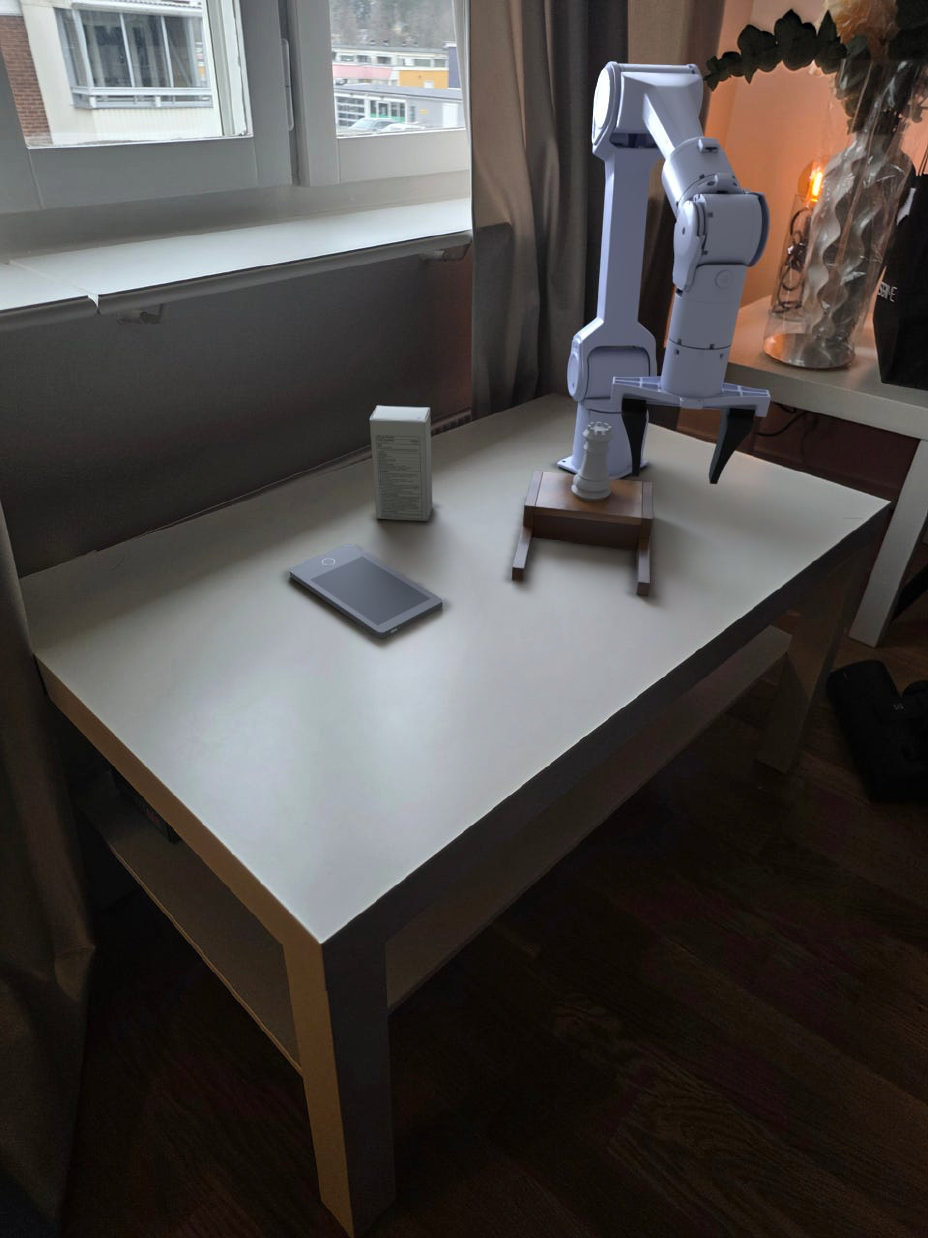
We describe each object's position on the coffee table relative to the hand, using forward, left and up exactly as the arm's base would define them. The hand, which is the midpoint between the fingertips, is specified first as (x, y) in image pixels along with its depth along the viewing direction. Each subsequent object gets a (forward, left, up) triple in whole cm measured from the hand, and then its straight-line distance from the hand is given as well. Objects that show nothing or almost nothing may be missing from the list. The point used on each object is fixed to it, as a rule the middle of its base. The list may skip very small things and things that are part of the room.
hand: (673, 475), depth 84 cm
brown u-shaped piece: (+3, -8, -10) cm, 13 cm away
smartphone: (+27, -17, -10) cm, 33 cm away
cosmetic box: (+13, -27, -11) cm, 32 cm away
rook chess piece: (-1, -11, -7) cm, 13 cm away
